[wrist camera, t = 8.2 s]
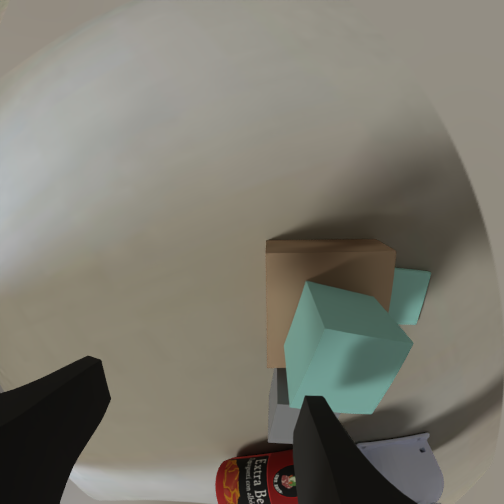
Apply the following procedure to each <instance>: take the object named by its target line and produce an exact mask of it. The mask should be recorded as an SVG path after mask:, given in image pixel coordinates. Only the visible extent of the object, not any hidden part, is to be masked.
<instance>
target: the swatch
mask: <svg viewBox="0 0 504 504" xmlns="http://www.w3.org/2000/svg"><path fill="white" fill-rule="evenodd" d="M430 276H431V272H429V271H422V270H414V269H405V268H396V267H395V270H394V279H393V287H392V294H391V301H390V307H389V313H388V314H389V315H390V316H391V317H392V318H393V319H394V321H395V322H396V323H397V324H412V325H416V323H417V320H418V317H419V314H420V311H421V308H422V305H423V301H424V298H425V294H426V291H427V287H428V284H429V280H430Z"/></svg>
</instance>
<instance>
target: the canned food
mask: <svg viewBox="0 0 504 504" xmlns="http://www.w3.org/2000/svg"><path fill="white" fill-rule="evenodd" d="M215 485H216V497H217V501H218V504H298V498H297V489H296V481H295V472H294V463H293V449H291V450H286V451H280V452H274V453H268V454H261V455H253V456H244V457H234V458H231V459H228V460H226V461H224V462H223V463H222V464H221V465H220V467H219V469H218V472H217V476H216V484H215Z"/></svg>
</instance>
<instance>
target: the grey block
mask: <svg viewBox="0 0 504 504" xmlns="http://www.w3.org/2000/svg"><path fill="white" fill-rule="evenodd" d="M300 410H301V409H298V408H291V407H290V405H289V394H288V383H287V372H286V368H274V373H273V378H272V384H271V389H270V394H269V419H268V443H286V444H293V431H294V428H295V425H296V422H297V419H298V416H299V413H300ZM334 414H335V416H336V417H337V419H338V418H339V415H340V413H337V412H334Z"/></svg>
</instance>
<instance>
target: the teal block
mask: <svg viewBox="0 0 504 504" xmlns="http://www.w3.org/2000/svg"><path fill="white" fill-rule="evenodd" d="M412 345H413V342H412V341H411V339H410V338H409V337H408V336H407V335H406V333H405V332H404V331H403V330H402V329H401V328H400V326H399V325H398V324H397V323H396V322H395V321H394V319H393V318H392V317H391V316H390V315H389V314H388V312H387V311H386V310H385V309H384V308H383V307H382V306H381V304H380V303H379V302H378V301H377V300H376V299H375V298H374V297H373V296H369V295H365V294H360V293H356V292H352V291H347V290H343V289H339V288H335V287H331V286H326V285H322V284H318V283H314V282H310V281H306V282H305V285H304V288H303V291H302V295H301V298H300V301H299V304H298V307H297V309H296V312H295V315H294V318H293V321H292V324H291V327H290V330H289V332H288V335H287V338H286V341H285V344H284V352H285V362H286V372H287V383H288V394H289V405H290V407H291V408H298V409H301V407H302V403H303V400H304V397H305V395H309V396H323V397H324V398H325V399H326V401H327V403H328V404H329V406H330V408H331V409H332V411H333V412H337V413H353V414H372V413H373V411H374V410H375V408H376V407H377V405H378V404H379V402H380V401H381V399H382V398H383V396H384V395H385V393H386V391H387V390H388V388H389V387H390V385H391V383H392V382H393V380H394V378H395V376H396V375H397V373H398V371H399V370H400V368H401V366H402V364H403V362H404V361H405V359H406V357H407V355H408V353H409V351H410V349H411V347H412Z"/></svg>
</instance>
